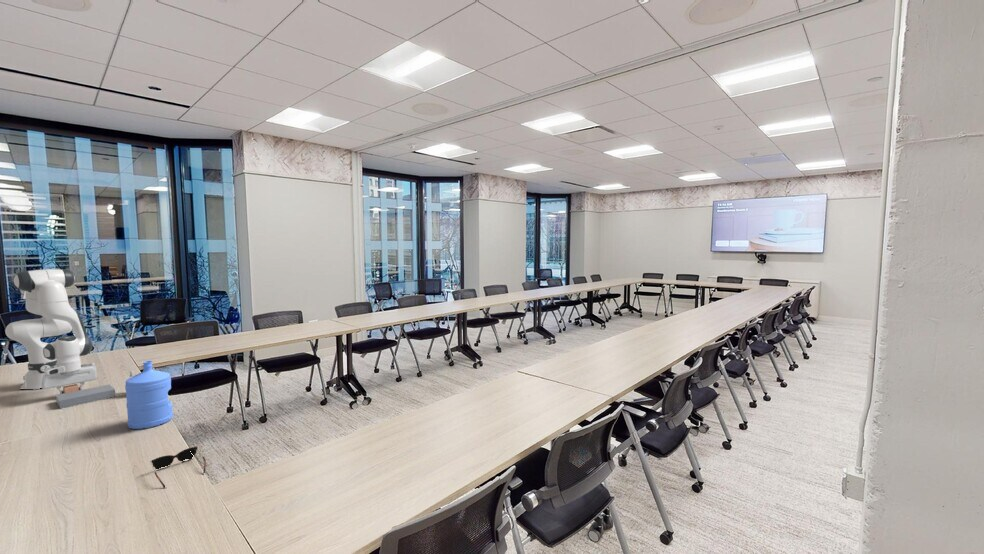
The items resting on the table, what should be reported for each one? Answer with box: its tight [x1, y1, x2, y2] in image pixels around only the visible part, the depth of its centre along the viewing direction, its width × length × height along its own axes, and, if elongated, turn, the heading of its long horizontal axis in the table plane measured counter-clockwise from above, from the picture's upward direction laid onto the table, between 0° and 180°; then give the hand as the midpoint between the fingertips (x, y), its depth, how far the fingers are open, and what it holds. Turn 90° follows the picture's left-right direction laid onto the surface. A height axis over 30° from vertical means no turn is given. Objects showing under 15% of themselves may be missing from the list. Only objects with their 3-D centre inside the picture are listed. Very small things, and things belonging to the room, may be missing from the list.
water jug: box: [124, 360, 174, 430], centre depth 179 cm, size 16×16×28 cm
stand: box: [55, 384, 116, 410], centre depth 207 cm, size 13×20×4 cm, turn 143°
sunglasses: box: [150, 446, 207, 488], centre depth 140 cm, size 14×16×5 cm
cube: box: [62, 383, 79, 393], centre depth 211 cm, size 5×5×5 cm
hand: (71, 392), depth 211 cm, fingers closed on cube, 5 cm apart
